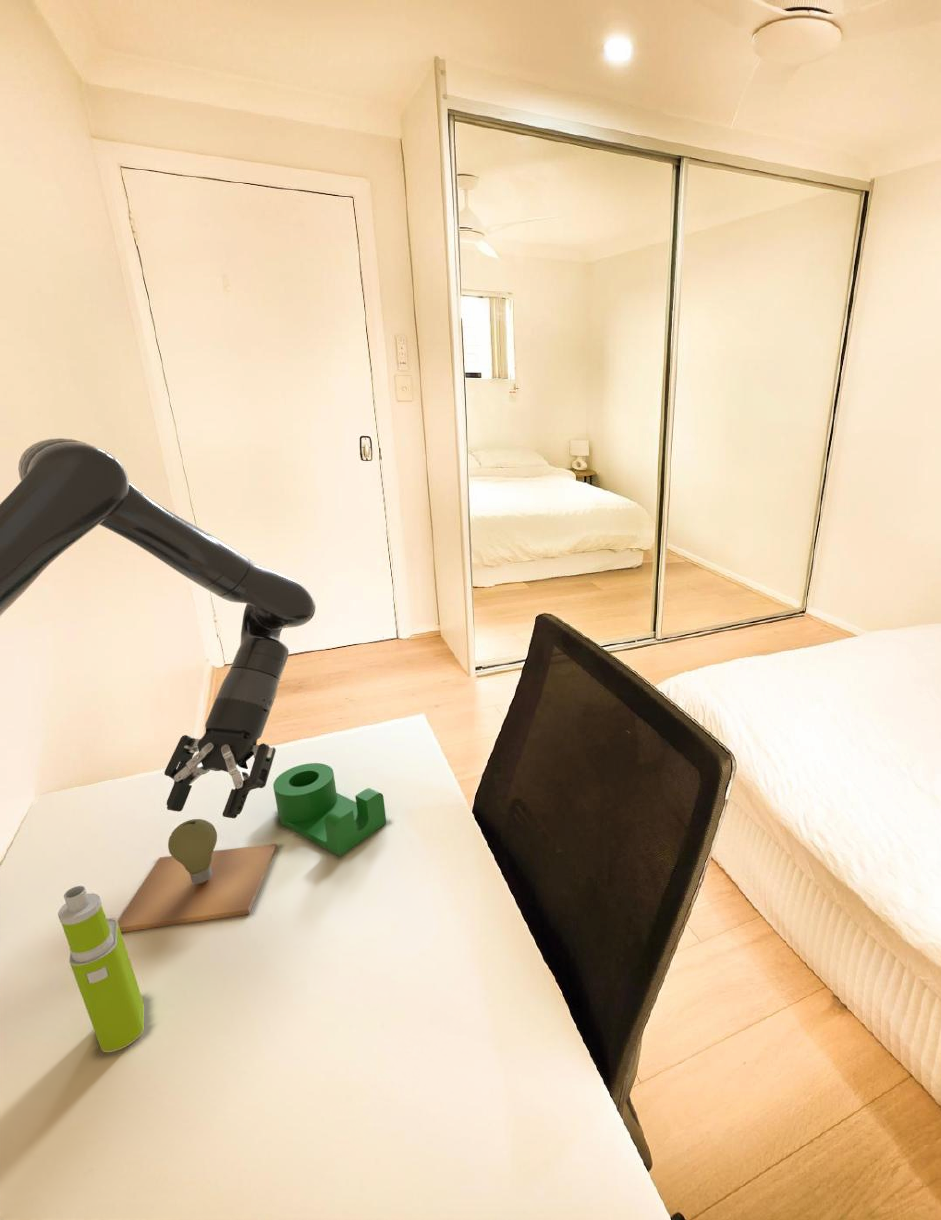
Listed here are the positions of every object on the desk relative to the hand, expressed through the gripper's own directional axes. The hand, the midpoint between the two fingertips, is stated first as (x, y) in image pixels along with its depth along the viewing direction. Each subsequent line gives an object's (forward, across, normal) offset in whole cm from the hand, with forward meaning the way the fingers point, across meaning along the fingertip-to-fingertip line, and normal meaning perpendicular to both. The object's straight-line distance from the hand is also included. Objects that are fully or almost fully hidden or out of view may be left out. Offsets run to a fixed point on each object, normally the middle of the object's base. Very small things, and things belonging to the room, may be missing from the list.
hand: (201, 814), depth 84 cm
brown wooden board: (+9, 0, +6) cm, 11 cm away
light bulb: (+9, 0, +6) cm, 10 cm away
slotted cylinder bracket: (-2, +9, +17) cm, 20 cm away
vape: (+23, +7, -8) cm, 25 cm away
